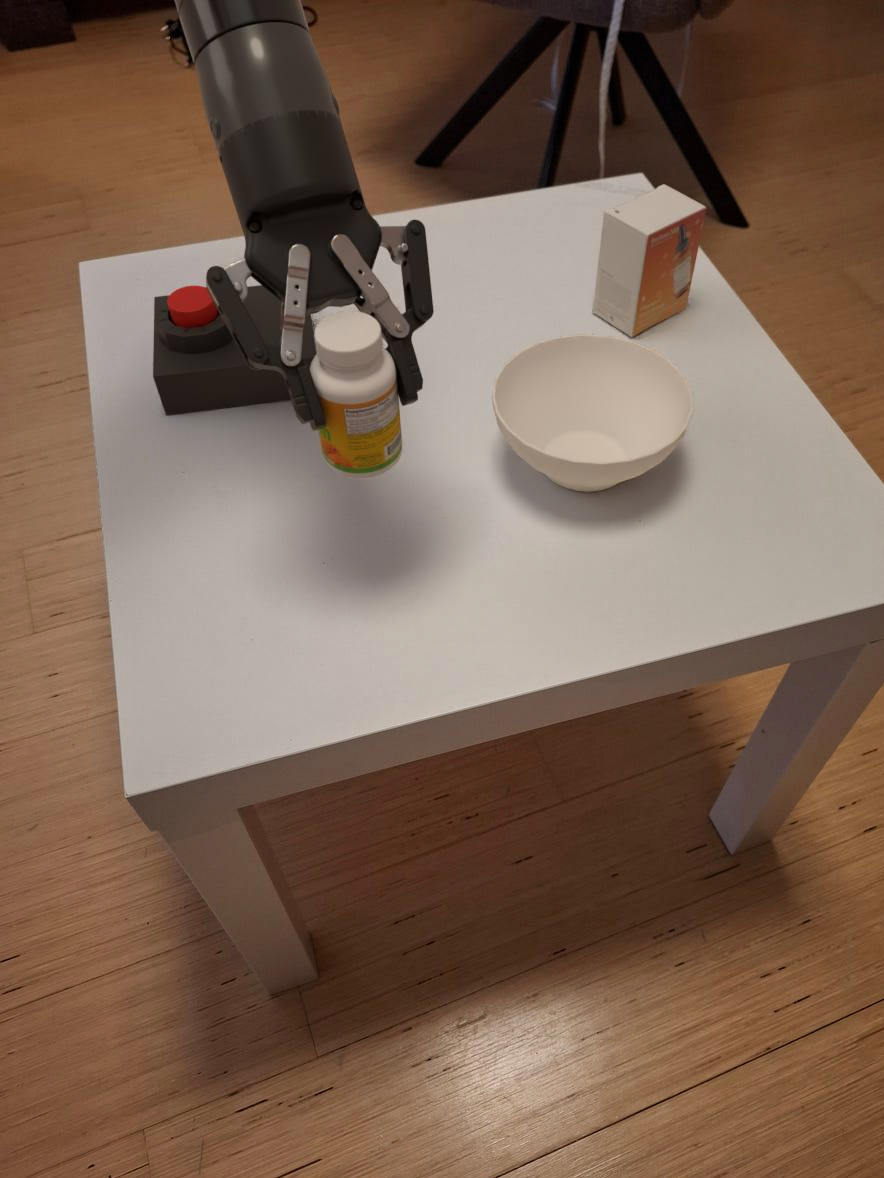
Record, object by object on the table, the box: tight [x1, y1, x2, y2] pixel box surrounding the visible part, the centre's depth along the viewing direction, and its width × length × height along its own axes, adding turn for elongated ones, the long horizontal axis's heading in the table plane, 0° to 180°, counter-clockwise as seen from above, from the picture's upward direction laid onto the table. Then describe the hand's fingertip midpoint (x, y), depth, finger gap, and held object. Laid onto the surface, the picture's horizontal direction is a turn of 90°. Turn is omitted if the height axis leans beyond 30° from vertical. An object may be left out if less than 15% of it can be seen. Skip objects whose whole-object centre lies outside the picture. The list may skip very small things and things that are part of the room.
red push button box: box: [152, 284, 317, 416], centre depth 86 cm, size 14×12×6 cm
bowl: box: [491, 333, 695, 493], centre depth 77 cm, size 16×16×7 cm
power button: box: [167, 285, 218, 328], centre depth 82 cm, size 4×4×2 cm
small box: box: [592, 183, 707, 338], centre depth 89 cm, size 8×6×10 cm
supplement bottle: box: [310, 310, 403, 479], centre depth 60 cm, size 5×5×10 cm
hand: (364, 414), depth 59 cm, fingers closed on supplement bottle, 5 cm apart
